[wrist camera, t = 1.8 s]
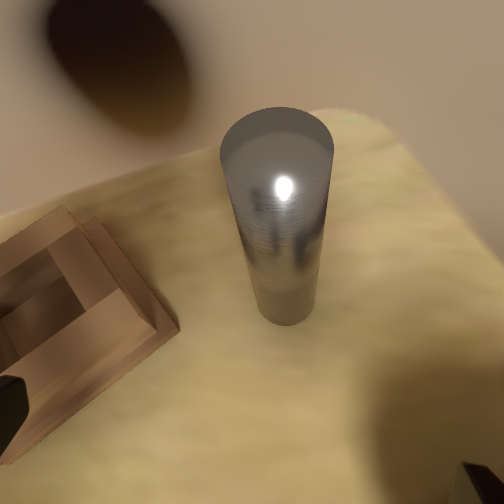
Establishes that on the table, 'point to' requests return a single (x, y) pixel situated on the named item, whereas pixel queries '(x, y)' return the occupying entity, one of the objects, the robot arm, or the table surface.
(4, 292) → the socket board
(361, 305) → the table surface
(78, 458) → the table surface
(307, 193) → the steel pin
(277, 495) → the table surface
